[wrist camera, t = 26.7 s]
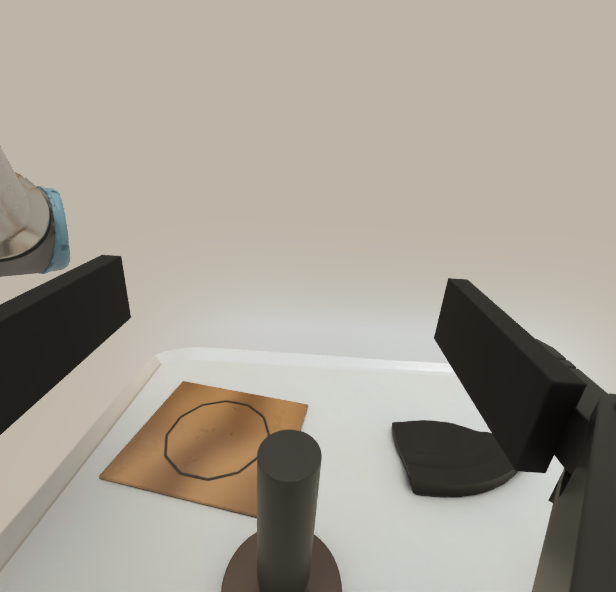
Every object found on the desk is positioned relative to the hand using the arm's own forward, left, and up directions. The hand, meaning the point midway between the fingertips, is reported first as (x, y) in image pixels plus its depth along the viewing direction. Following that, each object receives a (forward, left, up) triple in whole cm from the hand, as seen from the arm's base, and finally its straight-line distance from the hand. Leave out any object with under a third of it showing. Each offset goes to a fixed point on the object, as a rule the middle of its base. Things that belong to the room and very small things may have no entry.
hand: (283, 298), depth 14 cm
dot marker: (0, +1, -21) cm, 21 cm away
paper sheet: (-10, +12, -22) cm, 27 cm away
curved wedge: (+14, +15, -22) cm, 31 cm away
